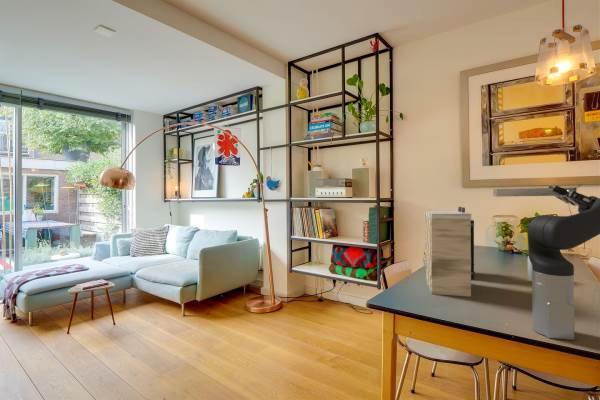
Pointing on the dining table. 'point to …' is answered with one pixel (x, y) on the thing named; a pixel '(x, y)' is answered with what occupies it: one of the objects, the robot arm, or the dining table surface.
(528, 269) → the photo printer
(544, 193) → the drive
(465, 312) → the dining table surface
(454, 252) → the stand
